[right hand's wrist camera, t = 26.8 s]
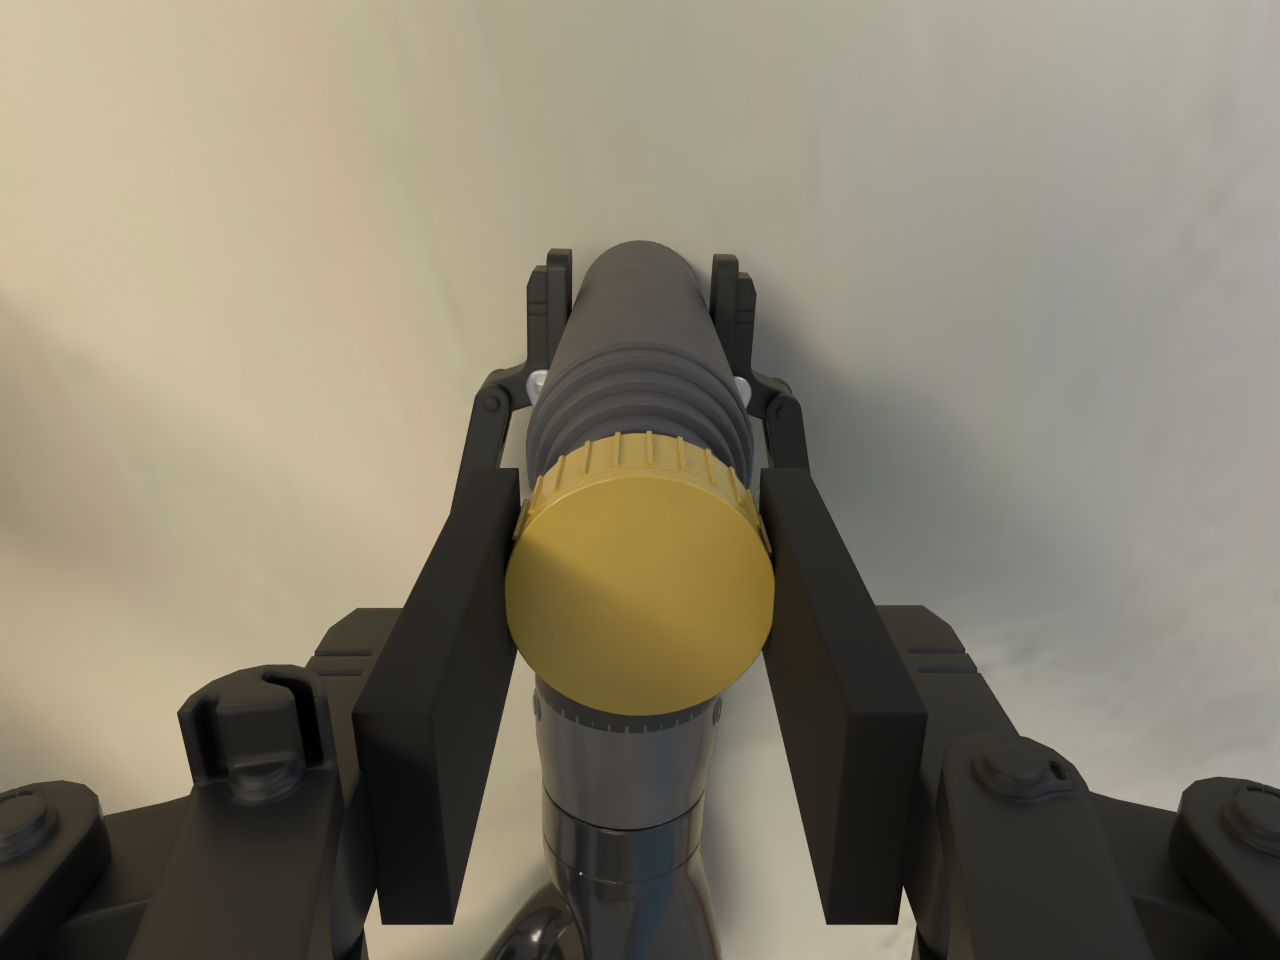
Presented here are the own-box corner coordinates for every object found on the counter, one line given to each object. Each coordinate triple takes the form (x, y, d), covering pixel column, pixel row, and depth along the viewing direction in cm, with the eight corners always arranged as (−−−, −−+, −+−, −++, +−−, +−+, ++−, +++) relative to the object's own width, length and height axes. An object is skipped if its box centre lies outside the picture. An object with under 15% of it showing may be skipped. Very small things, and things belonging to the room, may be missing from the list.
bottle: (556, 283, 36) (415, 535, 13) (658, 215, 35) (693, 365, 12) (622, 382, 37) (595, 757, 15) (722, 320, 36) (854, 622, 14)
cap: (503, 435, 14) (483, 478, 12) (764, 422, 14) (783, 464, 12) (527, 656, 16) (513, 724, 14) (763, 646, 15) (780, 713, 14)
